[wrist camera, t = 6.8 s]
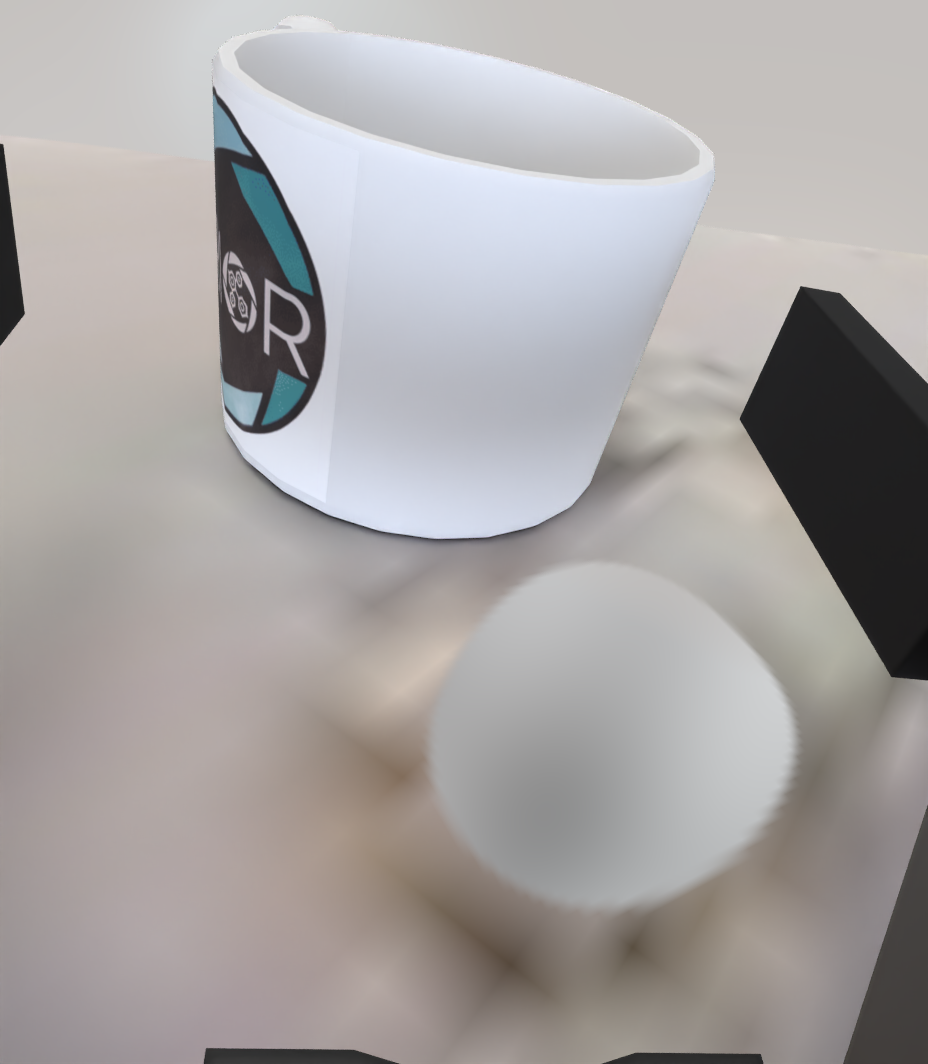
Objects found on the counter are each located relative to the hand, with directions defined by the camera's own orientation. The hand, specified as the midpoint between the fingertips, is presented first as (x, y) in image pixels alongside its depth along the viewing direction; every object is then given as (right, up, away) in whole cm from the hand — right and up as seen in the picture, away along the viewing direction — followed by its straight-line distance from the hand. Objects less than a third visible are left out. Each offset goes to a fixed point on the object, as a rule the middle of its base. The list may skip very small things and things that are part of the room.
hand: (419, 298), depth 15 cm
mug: (-1, 0, +9) cm, 9 cm away
